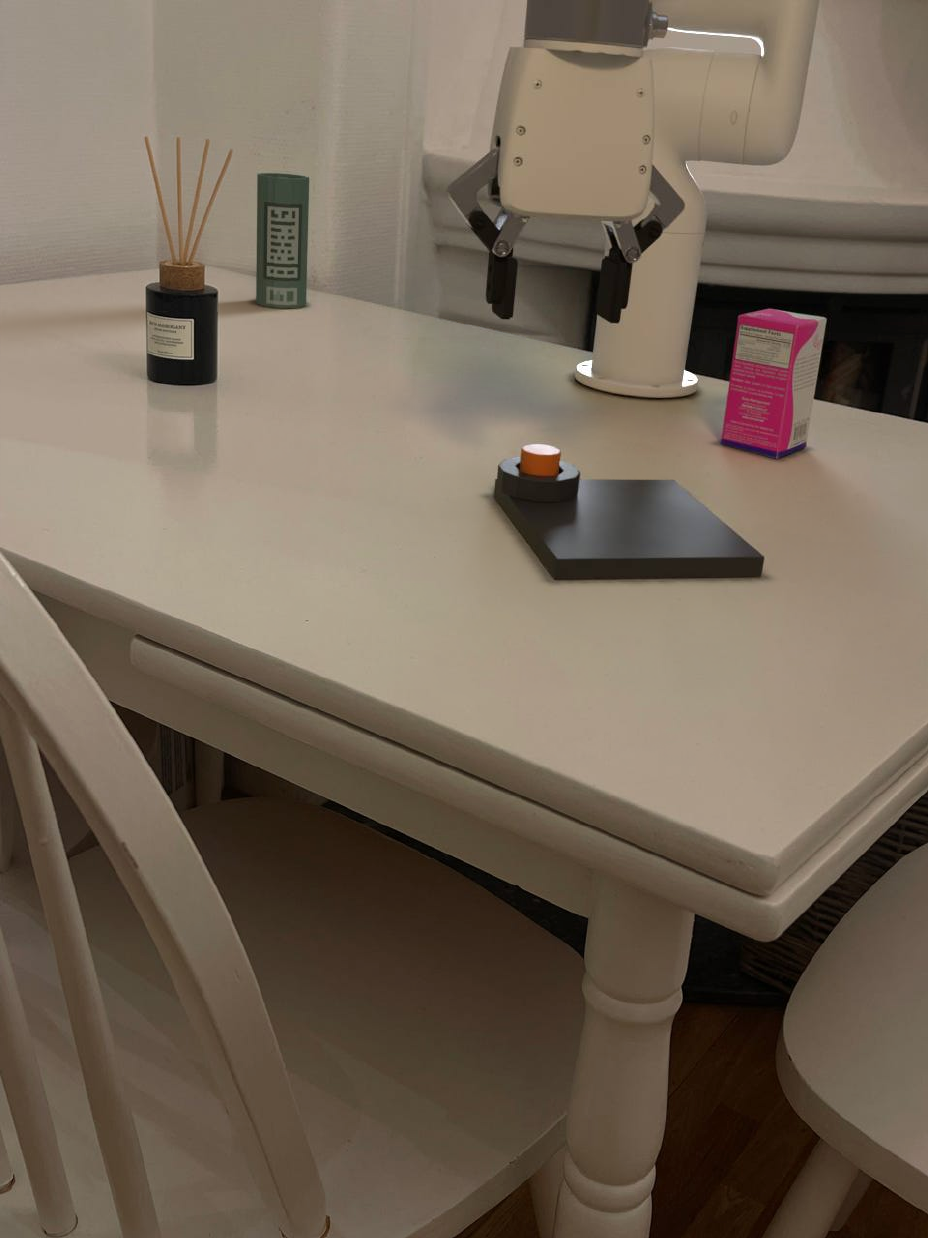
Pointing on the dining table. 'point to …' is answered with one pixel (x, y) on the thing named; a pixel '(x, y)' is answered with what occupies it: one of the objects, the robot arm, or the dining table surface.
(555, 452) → the tare button
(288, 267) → the can
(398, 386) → the dining table surface
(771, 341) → the supplement box
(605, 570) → the scale
